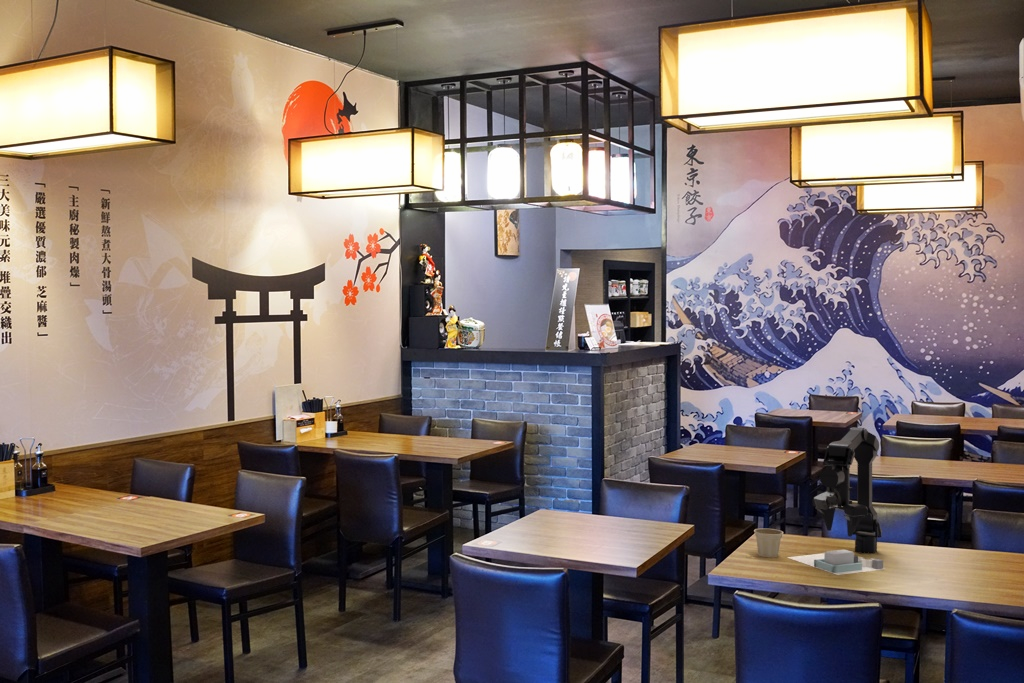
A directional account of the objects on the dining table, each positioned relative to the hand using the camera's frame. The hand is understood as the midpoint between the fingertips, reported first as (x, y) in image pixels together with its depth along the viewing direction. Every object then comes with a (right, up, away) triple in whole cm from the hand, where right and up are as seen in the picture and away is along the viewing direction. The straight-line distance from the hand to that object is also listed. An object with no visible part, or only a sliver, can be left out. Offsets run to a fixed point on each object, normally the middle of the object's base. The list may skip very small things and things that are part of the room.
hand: (839, 533), depth 291 cm
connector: (+1, -11, +1) cm, 11 cm away
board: (+1, -12, +6) cm, 13 cm away
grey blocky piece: (+10, -11, +1) cm, 15 cm away
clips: (+10, -11, +3) cm, 15 cm away
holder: (0, -11, 0) cm, 11 cm away
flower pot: (-18, -12, +17) cm, 27 cm away
